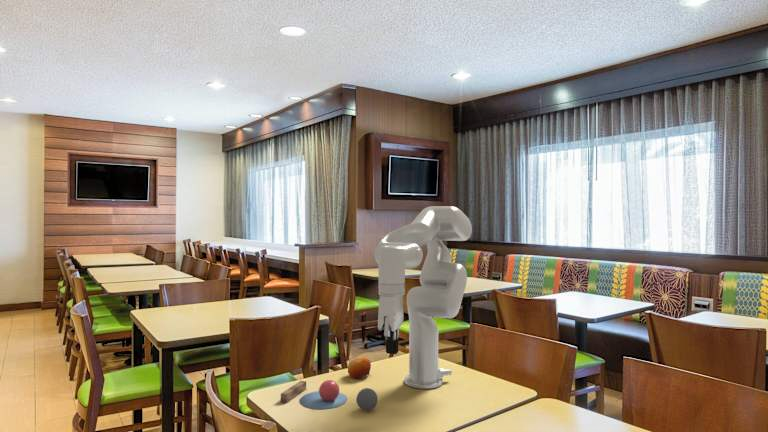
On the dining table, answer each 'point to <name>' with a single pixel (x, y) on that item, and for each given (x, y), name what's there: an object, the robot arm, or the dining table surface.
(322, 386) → the object ball
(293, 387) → the wall
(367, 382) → the dining table surface
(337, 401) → the blue flat disc
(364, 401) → the grey ball
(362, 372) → the fruit
